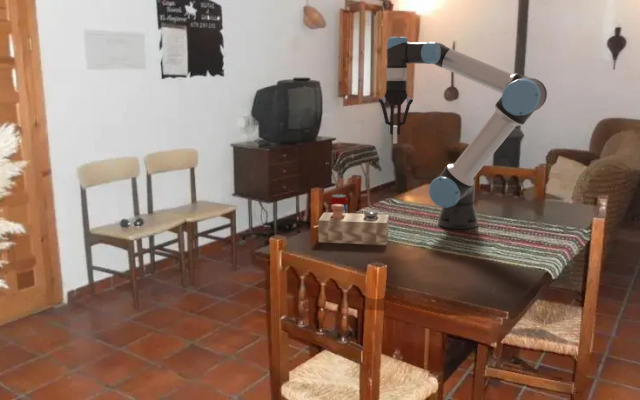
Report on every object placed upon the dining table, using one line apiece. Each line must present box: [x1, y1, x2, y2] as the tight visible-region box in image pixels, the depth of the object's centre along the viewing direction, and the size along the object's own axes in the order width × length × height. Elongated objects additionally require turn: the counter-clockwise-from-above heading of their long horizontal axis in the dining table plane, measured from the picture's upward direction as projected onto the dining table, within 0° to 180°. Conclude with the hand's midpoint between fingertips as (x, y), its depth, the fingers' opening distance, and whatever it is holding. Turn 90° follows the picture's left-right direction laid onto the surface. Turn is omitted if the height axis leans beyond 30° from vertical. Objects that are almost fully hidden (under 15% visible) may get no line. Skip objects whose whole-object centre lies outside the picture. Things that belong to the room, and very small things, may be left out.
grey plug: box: [363, 210, 378, 220], centre depth 217 cm, size 5×5×8 cm
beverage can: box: [329, 193, 349, 213], centre depth 236 cm, size 7×7×12 cm
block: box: [317, 211, 390, 246], centre depth 218 cm, size 24×12×8 cm, turn 80°
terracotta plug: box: [331, 204, 344, 219], centre depth 218 cm, size 5×5×8 cm
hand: (394, 143), depth 230 cm, fingers closed
